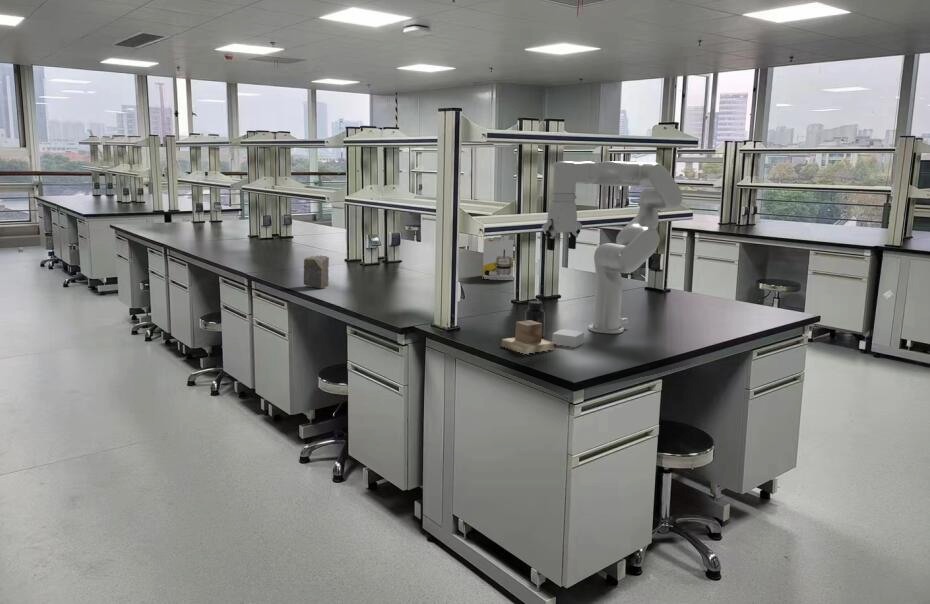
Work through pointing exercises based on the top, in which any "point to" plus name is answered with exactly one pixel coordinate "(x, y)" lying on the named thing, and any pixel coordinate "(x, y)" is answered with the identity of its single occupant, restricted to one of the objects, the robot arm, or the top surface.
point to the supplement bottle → (535, 313)
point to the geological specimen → (316, 271)
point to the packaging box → (498, 257)
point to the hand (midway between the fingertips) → (561, 249)
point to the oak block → (527, 346)
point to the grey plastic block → (568, 338)
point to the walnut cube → (528, 331)
